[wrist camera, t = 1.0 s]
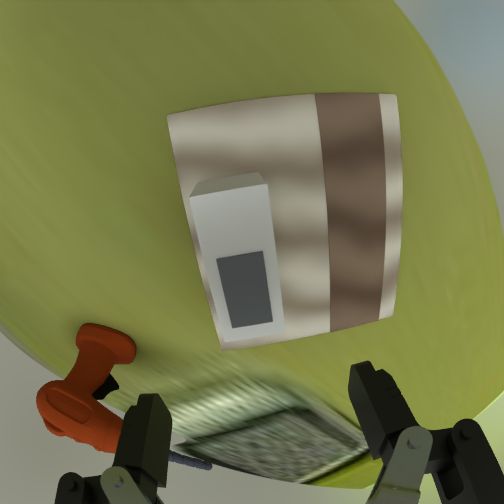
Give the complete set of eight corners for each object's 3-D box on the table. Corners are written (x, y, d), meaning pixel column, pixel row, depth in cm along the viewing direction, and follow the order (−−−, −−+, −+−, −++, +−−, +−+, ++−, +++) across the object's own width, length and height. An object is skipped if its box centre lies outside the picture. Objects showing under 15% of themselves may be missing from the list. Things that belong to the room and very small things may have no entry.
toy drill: (220, 392, 33) (202, 498, 19) (83, 341, 31) (26, 423, 17) (231, 368, 31) (214, 485, 17) (83, 312, 30) (13, 398, 16)
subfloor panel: (169, 116, 21) (166, 115, 20) (389, 95, 22) (396, 94, 20) (222, 343, 31) (222, 351, 30) (388, 309, 31) (393, 316, 30)
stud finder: (197, 182, 23) (188, 197, 18) (258, 171, 23) (267, 184, 18) (224, 304, 28) (224, 343, 23) (275, 296, 28) (285, 333, 23)
